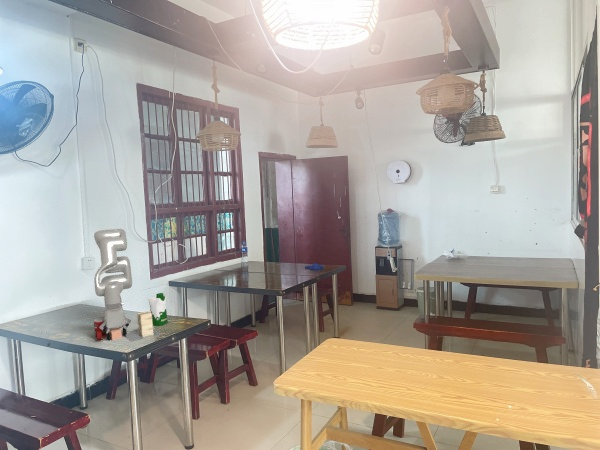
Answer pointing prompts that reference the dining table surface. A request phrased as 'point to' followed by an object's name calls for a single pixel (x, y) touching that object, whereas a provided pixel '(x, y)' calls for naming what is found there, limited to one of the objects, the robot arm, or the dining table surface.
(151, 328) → the beech block base
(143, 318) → the beech block mid
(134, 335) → the slate board
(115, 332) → the terracotta block
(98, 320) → the canned food
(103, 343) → the dining table surface
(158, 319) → the milk carton
